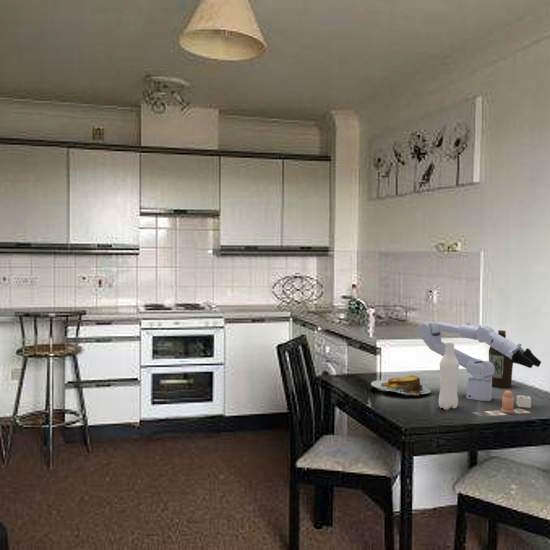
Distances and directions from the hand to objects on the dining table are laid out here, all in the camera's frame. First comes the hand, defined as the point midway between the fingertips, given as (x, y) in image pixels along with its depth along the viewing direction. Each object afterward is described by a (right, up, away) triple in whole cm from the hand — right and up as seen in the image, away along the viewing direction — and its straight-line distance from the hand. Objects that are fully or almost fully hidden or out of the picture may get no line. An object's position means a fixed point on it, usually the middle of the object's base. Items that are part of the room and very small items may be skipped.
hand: (536, 365), depth 230 cm
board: (-15, -18, -5) cm, 24 cm away
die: (-3, -18, +5) cm, 19 cm away
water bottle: (-33, -17, +2) cm, 37 cm away
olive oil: (+3, -16, +45) cm, 47 cm away
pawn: (-13, -17, -5) cm, 21 cm away
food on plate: (-45, -16, +30) cm, 56 cm away
